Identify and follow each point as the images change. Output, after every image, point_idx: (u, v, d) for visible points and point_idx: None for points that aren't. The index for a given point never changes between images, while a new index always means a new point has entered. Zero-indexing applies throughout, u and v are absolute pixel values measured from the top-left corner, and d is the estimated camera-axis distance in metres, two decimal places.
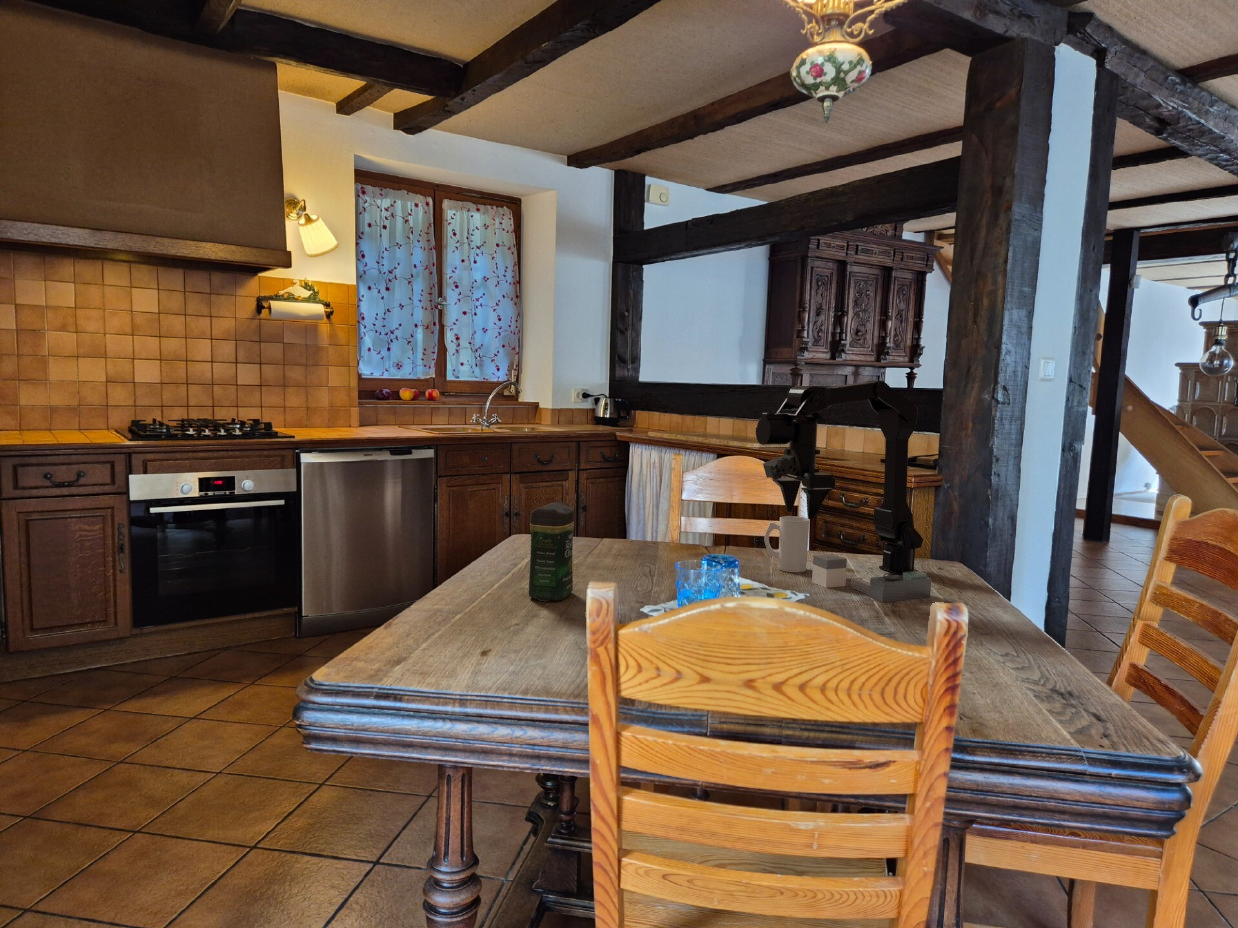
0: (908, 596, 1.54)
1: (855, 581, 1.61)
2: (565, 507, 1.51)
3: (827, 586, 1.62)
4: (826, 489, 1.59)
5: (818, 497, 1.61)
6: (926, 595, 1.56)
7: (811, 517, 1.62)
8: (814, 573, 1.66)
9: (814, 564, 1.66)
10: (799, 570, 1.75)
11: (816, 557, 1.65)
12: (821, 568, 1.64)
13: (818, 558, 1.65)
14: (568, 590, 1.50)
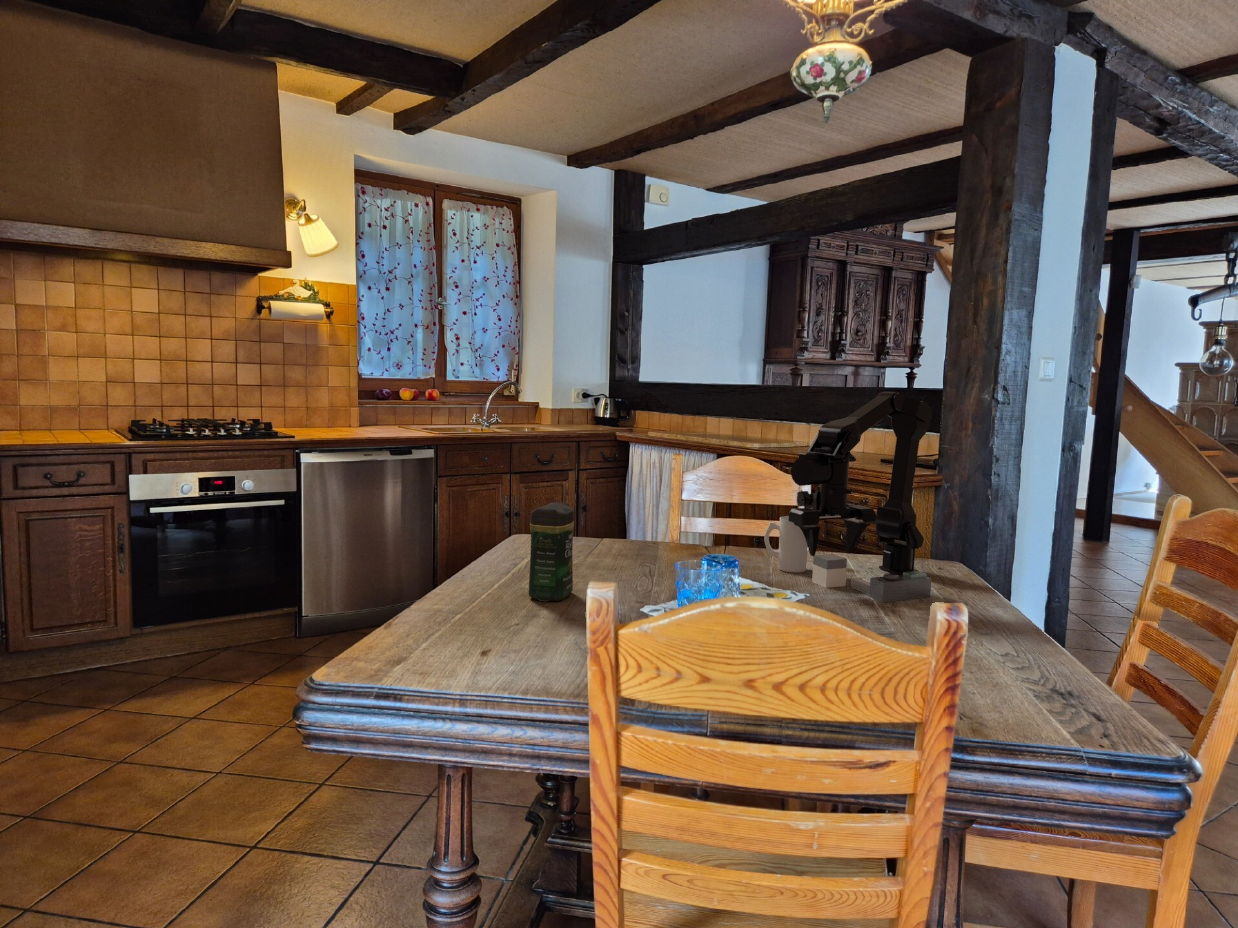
0: (908, 596, 1.54)
1: (855, 581, 1.61)
2: (565, 507, 1.51)
3: (827, 586, 1.62)
4: (804, 526, 1.60)
5: (810, 534, 1.61)
6: (926, 595, 1.56)
7: (812, 553, 1.63)
8: (814, 573, 1.66)
9: (814, 564, 1.66)
10: (799, 570, 1.75)
11: (816, 557, 1.65)
12: (821, 568, 1.64)
13: (818, 558, 1.65)
14: (568, 590, 1.50)
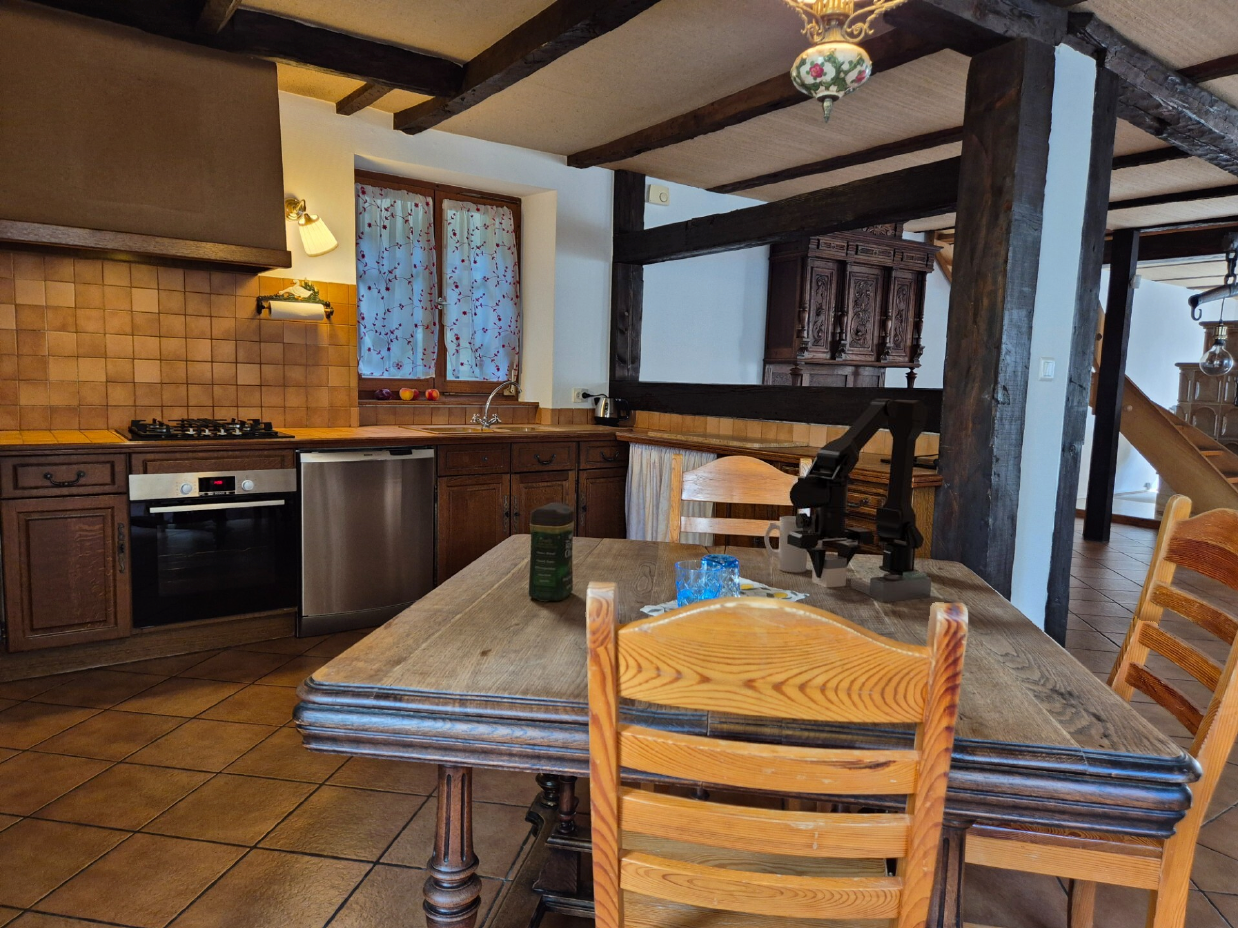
0: (908, 596, 1.54)
1: (855, 581, 1.61)
2: (565, 507, 1.51)
3: (827, 586, 1.62)
4: (810, 548, 1.61)
5: (817, 556, 1.63)
6: (926, 595, 1.56)
7: (818, 575, 1.64)
8: (814, 573, 1.66)
9: None
10: (799, 570, 1.75)
11: None
12: None
13: None
14: (568, 590, 1.50)
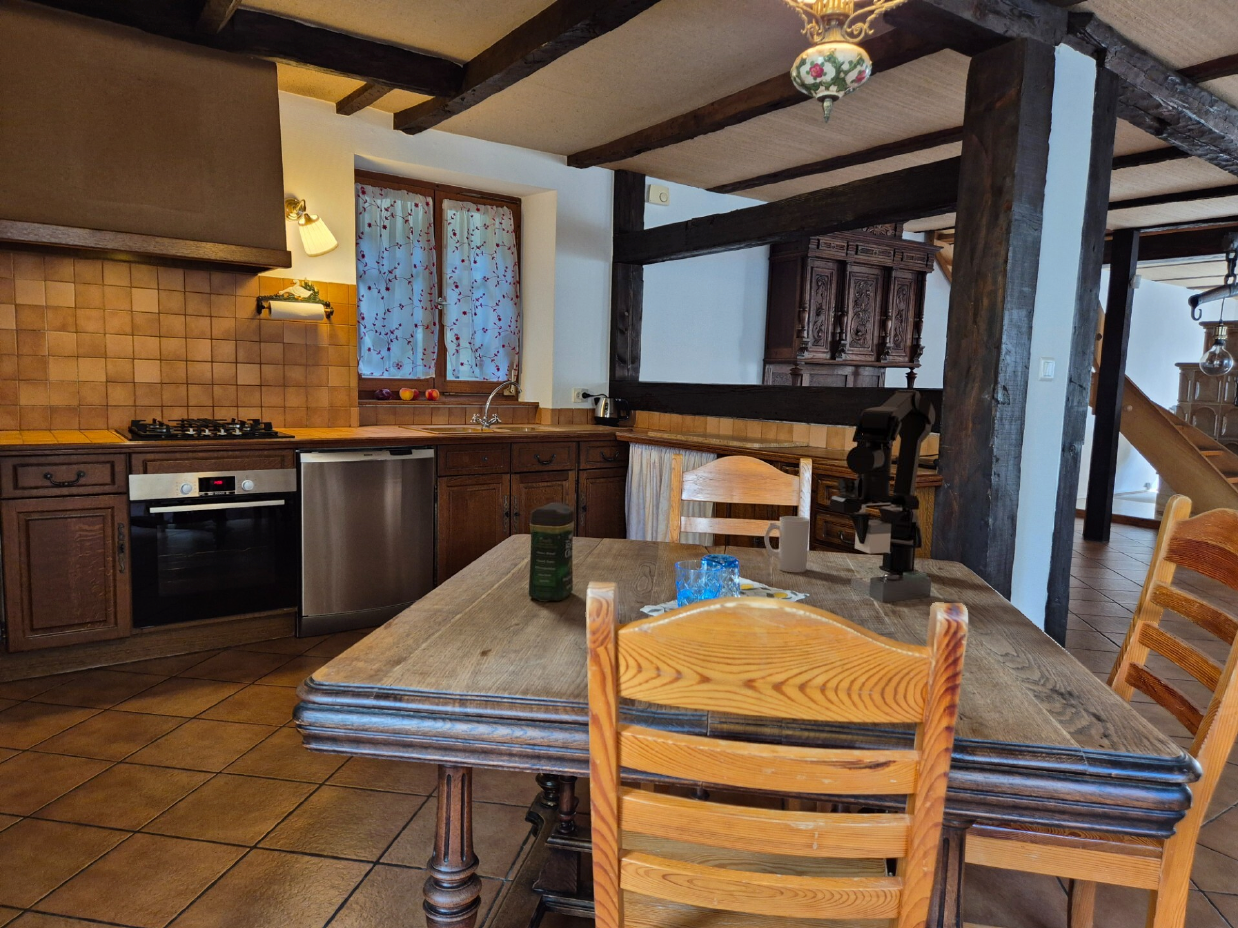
0: (908, 596, 1.54)
1: (855, 581, 1.61)
2: (565, 507, 1.51)
3: (871, 552, 1.58)
4: (853, 513, 1.57)
5: (860, 522, 1.59)
6: (926, 595, 1.56)
7: (861, 541, 1.60)
8: (857, 539, 1.62)
9: None
10: (799, 570, 1.75)
11: None
12: None
13: None
14: (568, 590, 1.50)
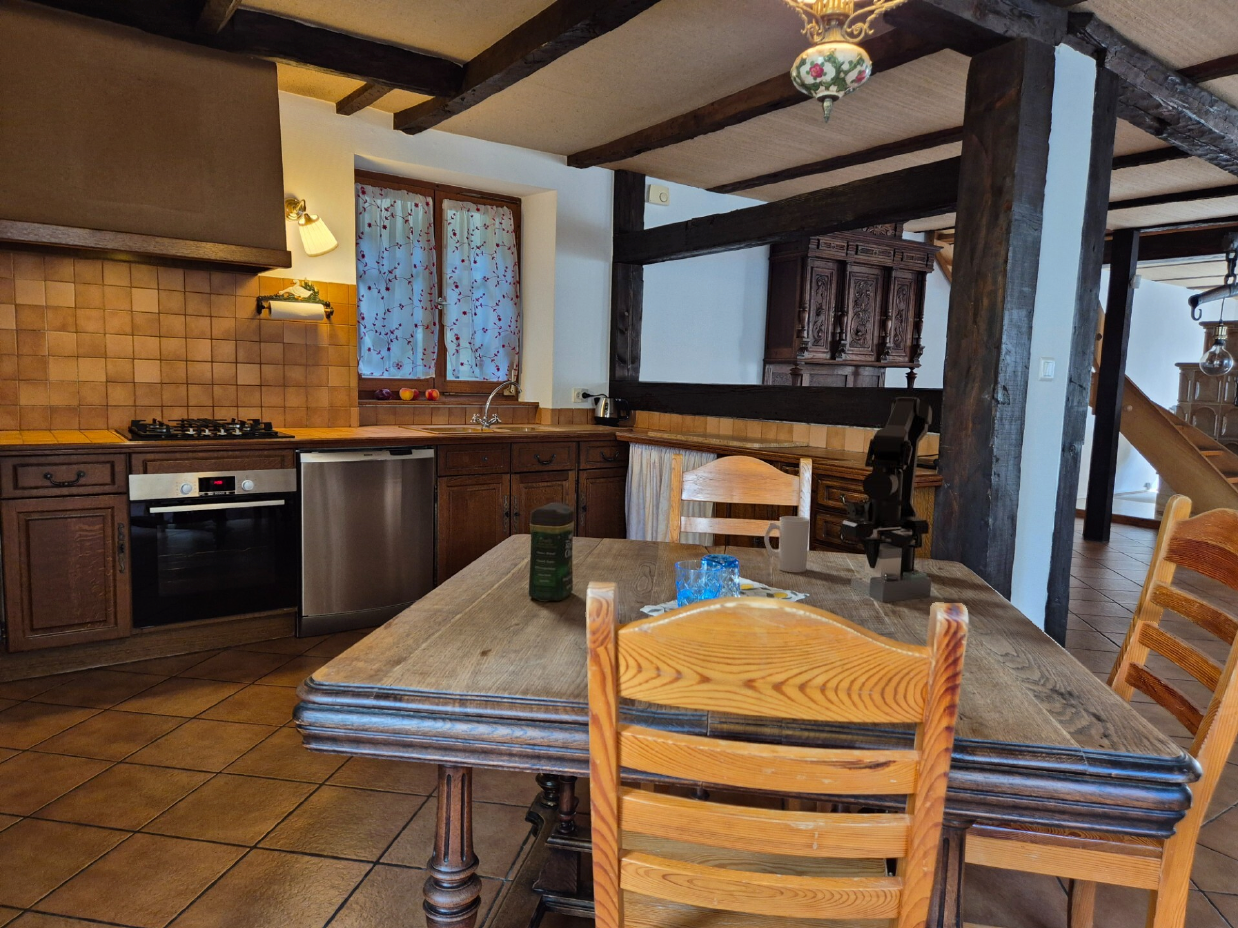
0: (908, 596, 1.54)
1: (855, 581, 1.61)
2: (565, 507, 1.51)
3: (882, 576, 1.58)
4: (865, 538, 1.57)
5: (871, 546, 1.58)
6: (926, 595, 1.56)
7: (871, 565, 1.60)
8: (867, 563, 1.62)
9: None
10: (799, 570, 1.75)
11: None
12: None
13: None
14: (568, 590, 1.50)
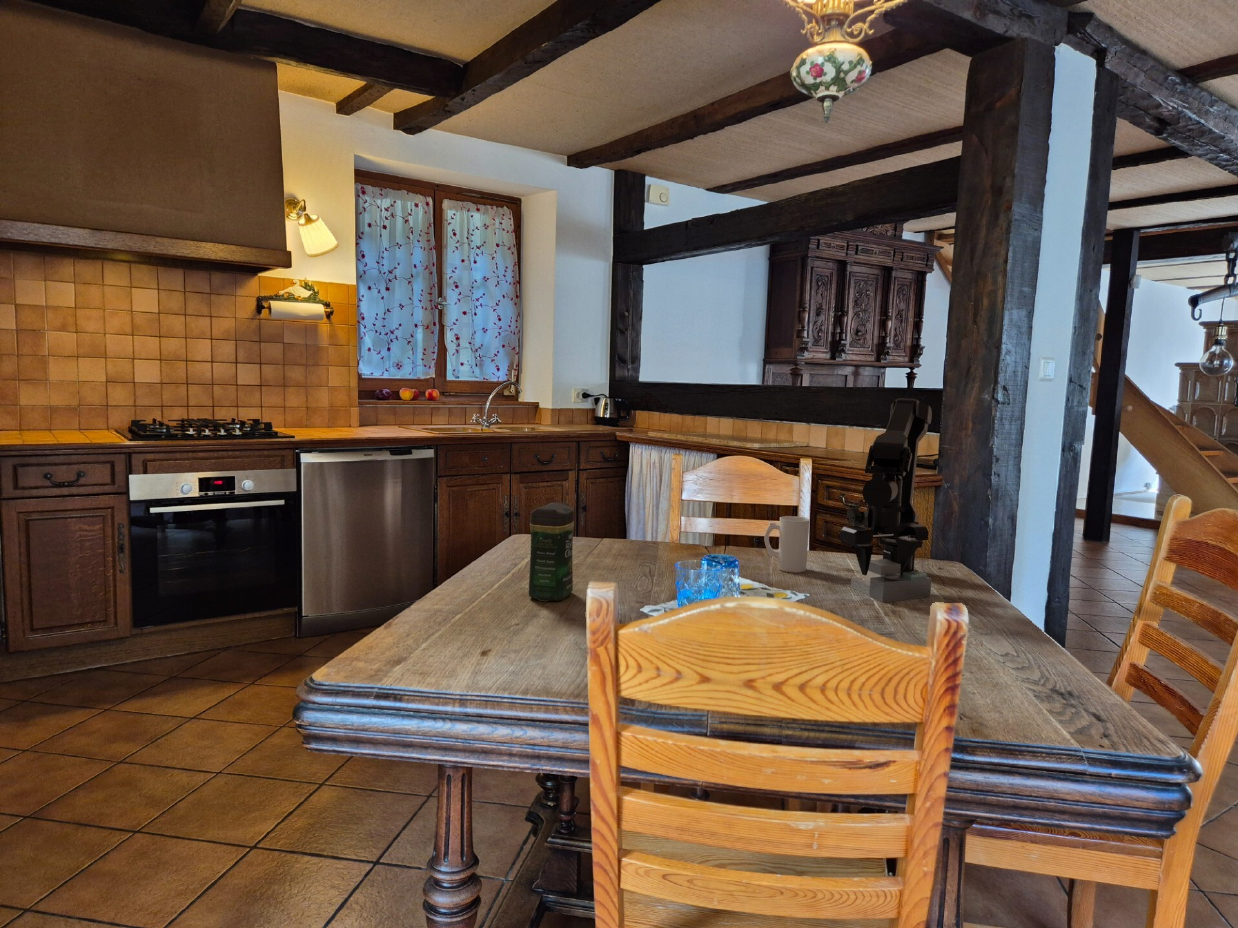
0: (908, 596, 1.54)
1: (855, 581, 1.61)
2: (565, 507, 1.51)
3: None
4: (856, 545, 1.56)
5: (863, 553, 1.58)
6: (926, 595, 1.56)
7: (863, 572, 1.59)
8: (866, 579, 1.62)
9: None
10: (799, 570, 1.75)
11: None
12: (875, 574, 1.60)
13: (871, 563, 1.61)
14: (568, 590, 1.50)
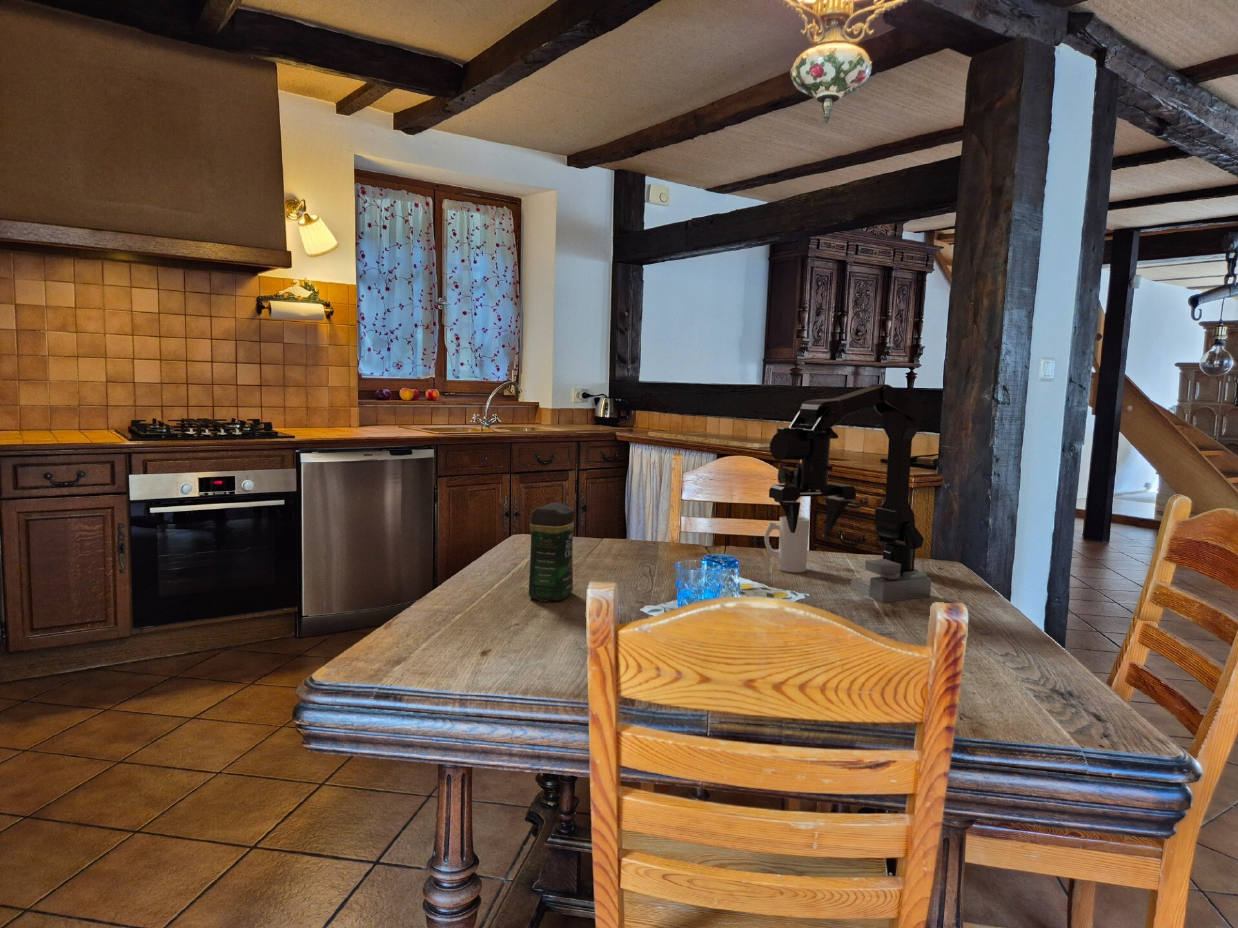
0: (908, 596, 1.54)
1: (855, 581, 1.61)
2: (565, 507, 1.51)
3: None
4: (784, 502, 1.59)
5: (791, 511, 1.60)
6: (926, 595, 1.56)
7: (792, 530, 1.62)
8: (866, 579, 1.62)
9: (866, 570, 1.62)
10: (799, 570, 1.75)
11: (869, 562, 1.61)
12: (875, 574, 1.60)
13: (871, 563, 1.61)
14: (568, 590, 1.50)
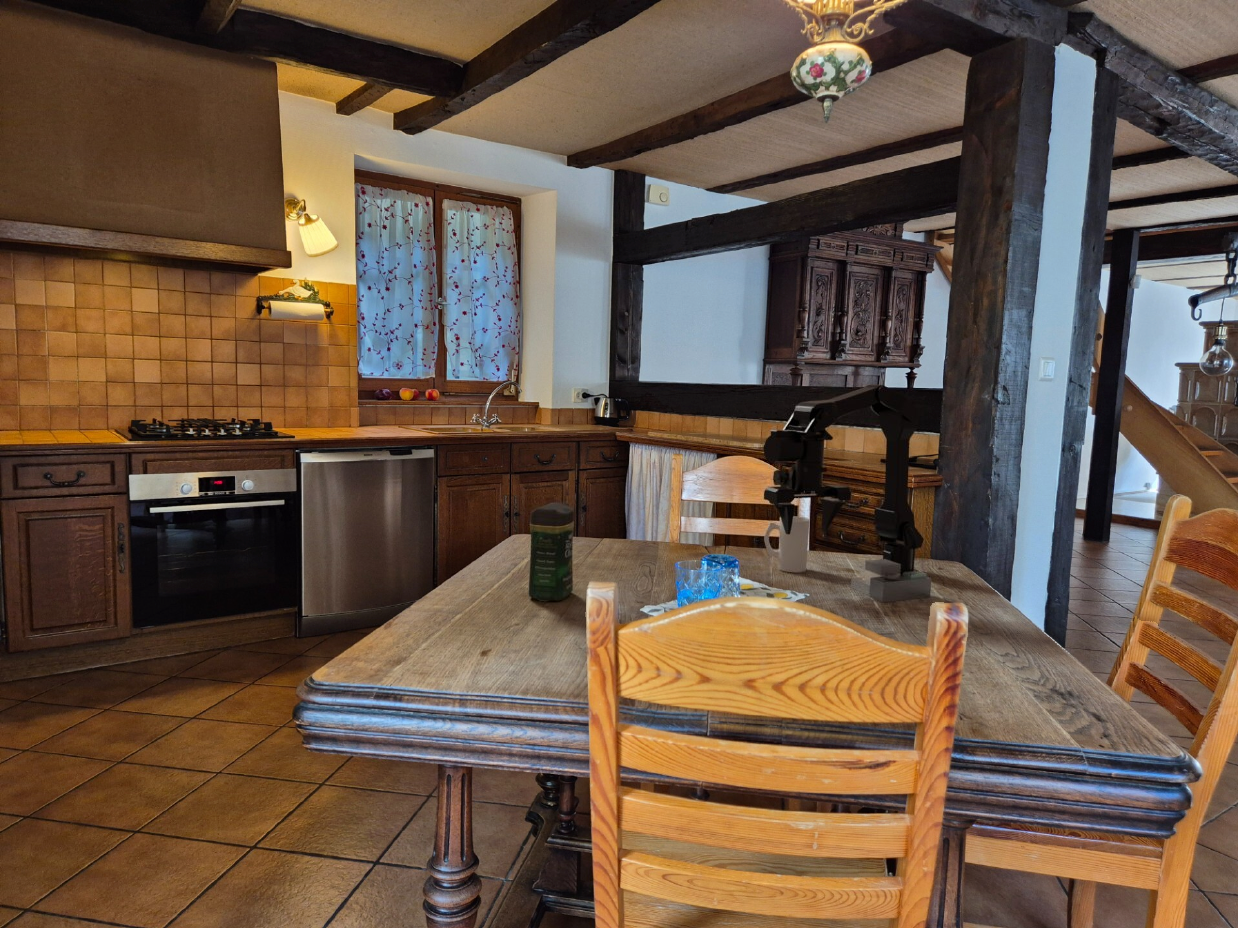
0: (908, 596, 1.54)
1: (855, 581, 1.61)
2: (565, 507, 1.51)
3: None
4: (779, 504, 1.60)
5: (785, 512, 1.61)
6: (926, 595, 1.56)
7: (787, 532, 1.63)
8: (866, 579, 1.62)
9: (866, 570, 1.62)
10: (799, 570, 1.75)
11: (869, 562, 1.61)
12: (875, 574, 1.60)
13: (871, 563, 1.61)
14: (568, 590, 1.50)
